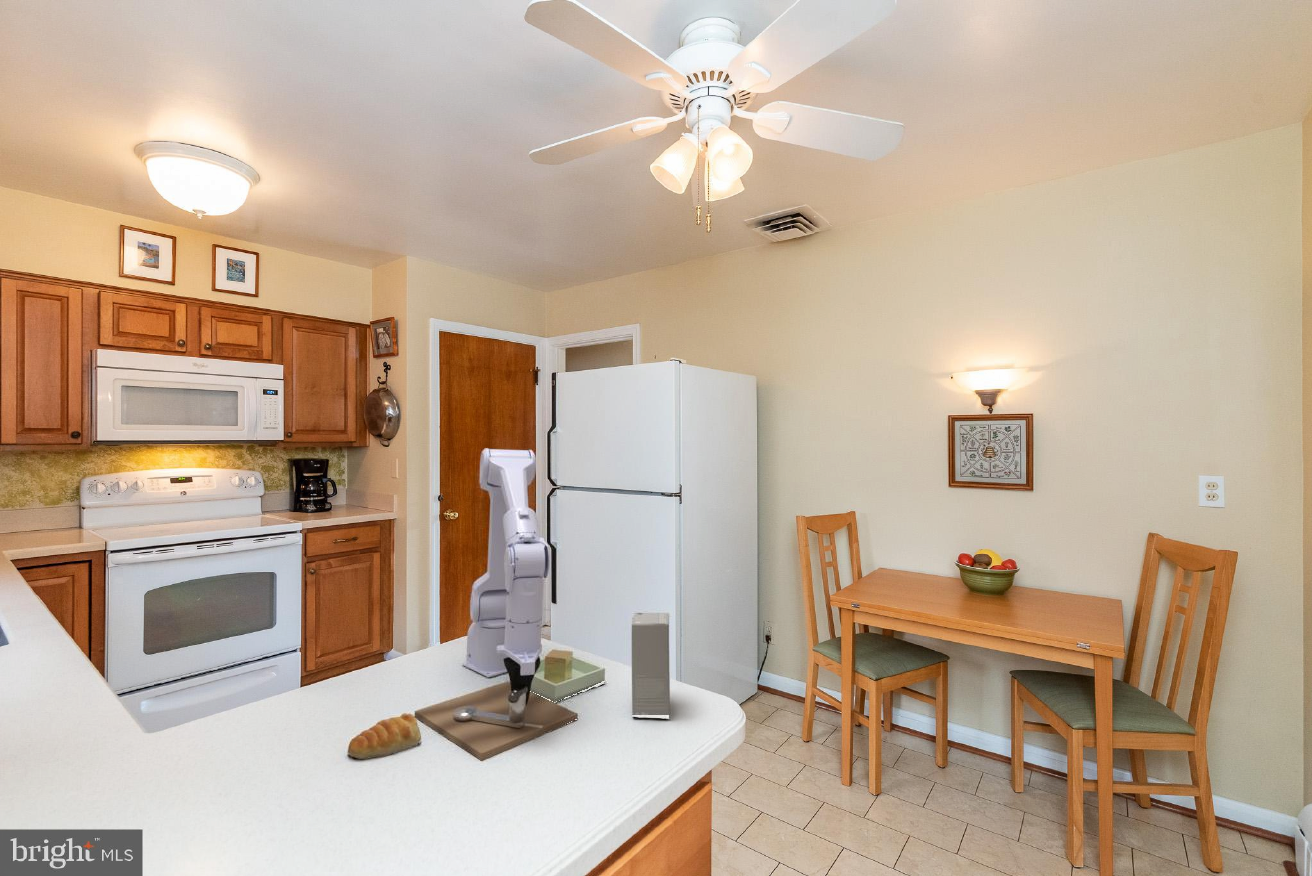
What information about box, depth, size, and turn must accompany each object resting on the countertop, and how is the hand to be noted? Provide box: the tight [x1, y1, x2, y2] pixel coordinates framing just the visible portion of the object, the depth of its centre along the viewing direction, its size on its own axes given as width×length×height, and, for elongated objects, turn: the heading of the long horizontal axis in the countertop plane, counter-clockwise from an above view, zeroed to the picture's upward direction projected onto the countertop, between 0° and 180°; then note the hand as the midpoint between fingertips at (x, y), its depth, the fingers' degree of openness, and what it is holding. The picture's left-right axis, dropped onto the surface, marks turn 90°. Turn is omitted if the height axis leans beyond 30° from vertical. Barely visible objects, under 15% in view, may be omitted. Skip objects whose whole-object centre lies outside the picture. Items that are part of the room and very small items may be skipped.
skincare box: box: [631, 612, 671, 716], centre depth 103 cm, size 8×7×16 cm
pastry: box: [347, 712, 422, 760], centre depth 87 cm, size 9×7×4 cm
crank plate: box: [414, 680, 578, 761], centre depth 97 cm, size 19×18×1 cm
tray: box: [530, 655, 606, 702], centre depth 112 cm, size 12×12×3 cm
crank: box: [453, 685, 528, 728], centre depth 94 cm, size 12×5×6 cm, turn 75°
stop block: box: [544, 649, 574, 684], centre depth 112 cm, size 4×4×5 cm
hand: (519, 703), depth 96 cm, fingers closed, pressing on crank
